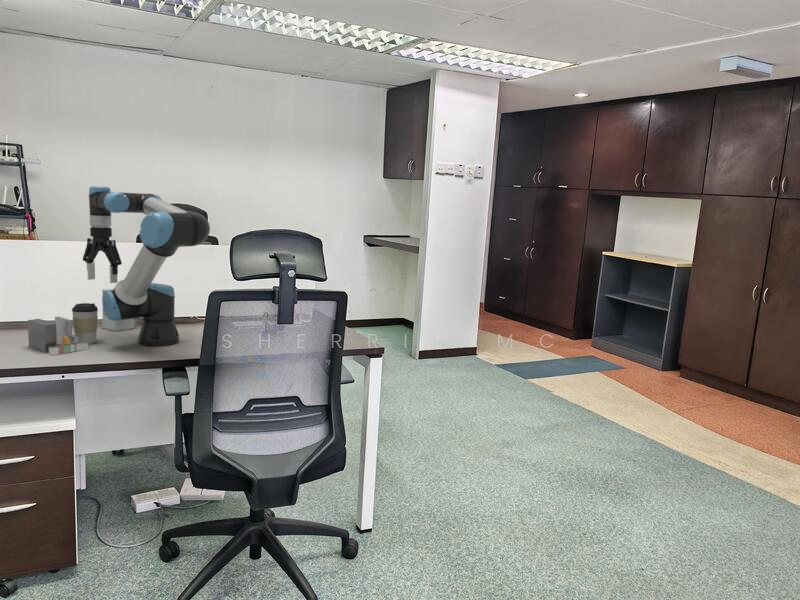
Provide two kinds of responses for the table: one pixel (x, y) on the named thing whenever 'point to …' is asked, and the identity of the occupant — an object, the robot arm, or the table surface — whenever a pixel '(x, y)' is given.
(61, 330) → the light grey slab
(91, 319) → the coffee cup
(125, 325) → the supplement box
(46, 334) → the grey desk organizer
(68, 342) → the orange stepped block
